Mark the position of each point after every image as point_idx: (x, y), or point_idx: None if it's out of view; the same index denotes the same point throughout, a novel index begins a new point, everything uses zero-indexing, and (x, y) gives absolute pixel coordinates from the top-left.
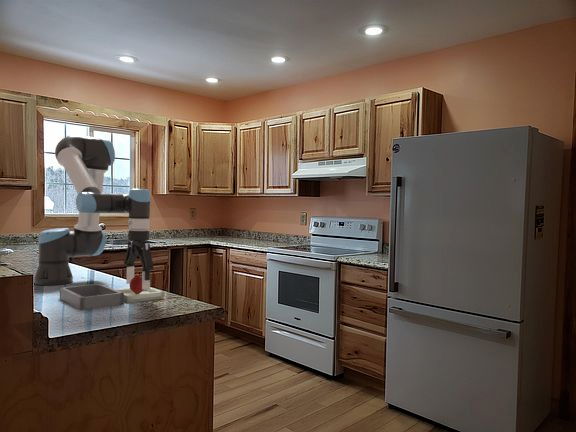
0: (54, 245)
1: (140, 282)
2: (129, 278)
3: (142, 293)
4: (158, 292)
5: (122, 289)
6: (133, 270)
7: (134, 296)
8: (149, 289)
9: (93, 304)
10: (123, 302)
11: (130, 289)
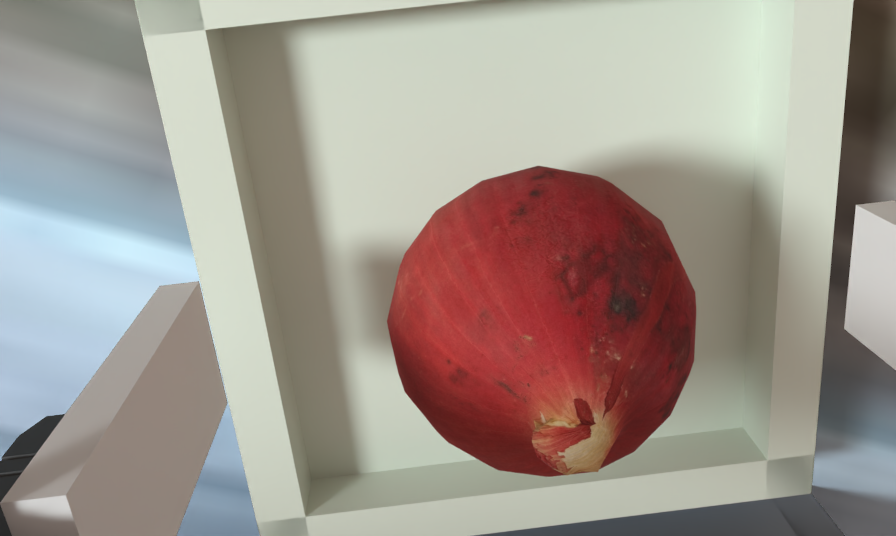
0: None
1: (692, 337)
2: (197, 422)
3: (446, 153)
4: (849, 7)
5: (290, 436)
6: (117, 444)
7: (811, 397)
8: (386, 9)
9: None
10: (817, 503)
11: (265, 309)
